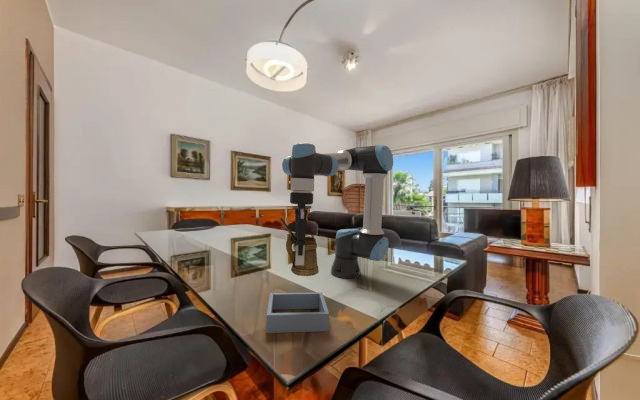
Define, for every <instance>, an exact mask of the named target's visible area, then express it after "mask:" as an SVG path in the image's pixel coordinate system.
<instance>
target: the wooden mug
mask: <svg viewBox="0 0 640 400" xmlns="http://www.w3.org/2000/svg"><path fill="white" fill-rule="evenodd" d="M279 220H280V221H281V223H282V225H283V226H284V228H285V229H286V231H287V232H288V233H289V236H288V238H287V240H286V243H285V249H286V251H287V253H288V254H287V255H289V257H290V259H291V262H292V263H291V264H292V265H291V268H290V271H291V272H292V274H294V275H296V276H301V277H311V276H316V275H317V274H319V266H318V257H317V255H318V254H317V248H318V245H317V239H316V238H315V237H312V236H306V237H305V242H306V243H305V253H304V265H295V259H296V250H295V249H294V250H293V249H292V247H293V244H294V243H296V242H297V236H296V235H295V234H294V233H293V231H292V230H291V229H290V227H289V225H288V224H287V223H286V222H285V220H284V219H283V217H280V218H279ZM295 247H296V245H294V248H295Z"/></svg>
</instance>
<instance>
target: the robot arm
mask: <svg viewBox="0 0 640 400" xmlns="http://www.w3.org/2000/svg"><path fill="white" fill-rule="evenodd" d="M281 166H282V171H283V173H284V174H286V175H288V176H290V180H289V181H288V184H289V185H290V190H291V192H290V193H289V194H290V195H289V196H290V197H289V203H290V204H292V205H297V207H296V208H295V209H294V214H295V215H294V216H295V217H294V221H295V234H294V235H295V236H297V242H296V243H294V251H295V250H296V259H295V265H304V253H305V243H306V242H305V237H307V236H306V233H307V229H306V228H307V222H308V220H307V219H308V212H309V211H308V210H307V209H306V206H307V205H308V206H309V205H313V203H314V193H313V192H314V190H315V176H320V177H323V176H324V177H333V176H335V174H336V173H337V172H338V170H341V171H356V172H357V171H358V172H361V171H362V175H363V176H364V178H365V183H364V184H365V185H364V200H363V201H364V202H363V203H364V204H363V220H362V221H363V223H362V228H361V229H359V228H345V229H344V228H343V229H339V230H337V231H336V235H335V251H334V260H333V262H332V265H331V268H330V273H331V275H332V276H333V277H337V278H341V279H356V278H358V277H357V276H359V275H360V276H361V268H360V264H359V261H358V260H359V259H358V258H362V259H364V260H365V259H366V260H369V261H374V262H380V261H383V259H384V258H385V257H386V255H387V253H388V249H389V244H390V242H389V238H387V237H386V236H385V232H384V230H383V229H382V225H383V224H382V219H383V205H384V203H383V201H384V185H385V178H386V177H387V176H388V174H389V172H390V171H391V170H392V169H393V167H394V156H393V152H392V150H391V149H390V147H389V146H387V145H380V144H378V145H370V146H369V145H368V146H356V147H352V148H348V149H341V150H340V151H338V152H330V153H320V152H316V146H315V145H314V144H313V143H308V142H298V143H294V144H293V145H292V148H291V155H289V156H286V157H285V158H284V159H283V160H282V164H281ZM295 245H296V247H295ZM360 276H359V277H360ZM355 277H356V278H355Z"/></svg>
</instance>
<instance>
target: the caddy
mask: <svg viewBox="0 0 640 400" xmlns="http://www.w3.org/2000/svg"><path fill="white" fill-rule="evenodd" d="M324 297H325V296H324V294H323V292H318V291H317V292H270V293H269V297H268V305H267V310H266V322H265V323H266V324H265V326H266V327H265V331H266V332H265V334H276V333H277V334H281V333H283V334H284V333H309V332H311V333H313V332H315V333H316V332H329V327H330V326H329V324H330V312H329V310H328V305H327V302H326V300H325V298H324ZM305 309H306V310H310V309H312V310H317V309H318V311H309V312H304V311H303V312H274V310H305Z"/></svg>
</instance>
